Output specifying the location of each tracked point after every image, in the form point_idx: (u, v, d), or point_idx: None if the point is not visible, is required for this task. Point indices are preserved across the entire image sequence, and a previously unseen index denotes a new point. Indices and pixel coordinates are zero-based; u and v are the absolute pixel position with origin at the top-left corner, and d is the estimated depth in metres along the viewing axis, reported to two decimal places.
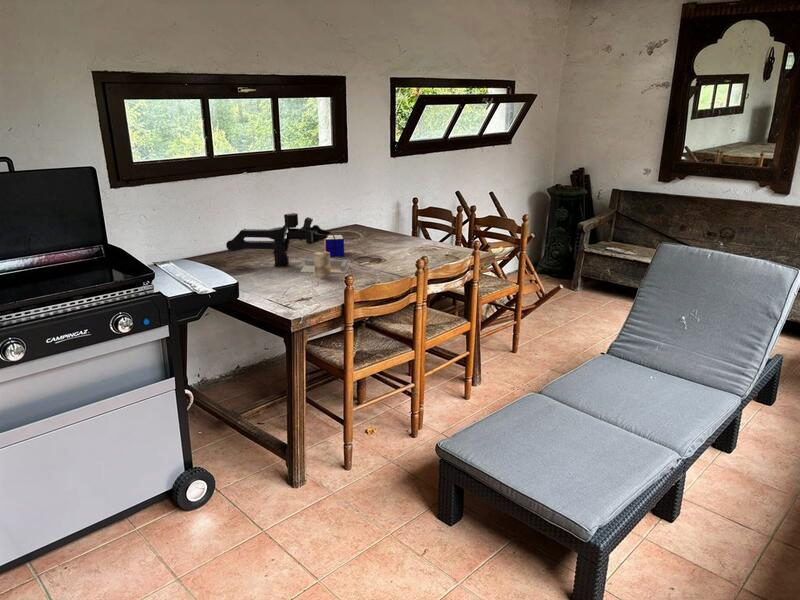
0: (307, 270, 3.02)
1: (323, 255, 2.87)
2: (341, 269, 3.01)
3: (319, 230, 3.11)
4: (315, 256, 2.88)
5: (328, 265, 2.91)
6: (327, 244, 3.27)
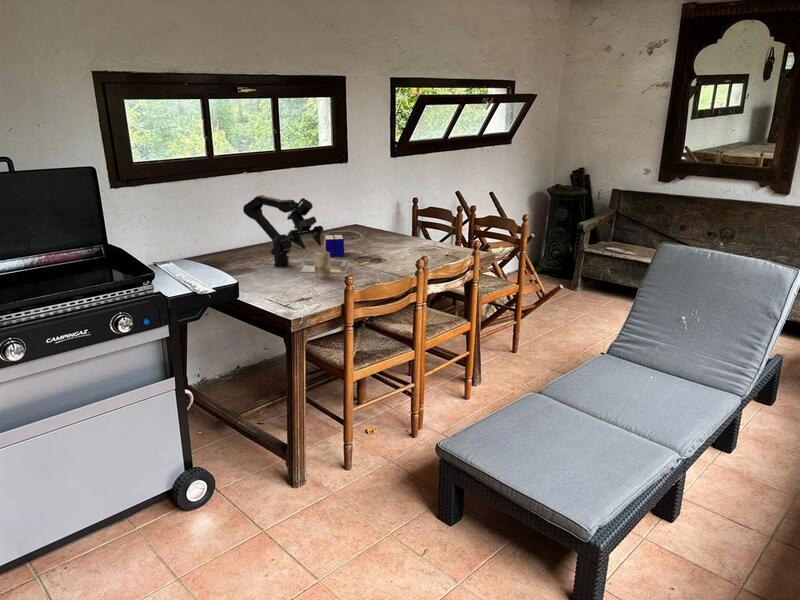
0: (307, 270, 3.02)
1: (323, 255, 2.87)
2: (341, 269, 3.01)
3: (316, 235, 2.98)
4: (315, 256, 2.88)
5: (328, 265, 2.91)
6: (327, 244, 3.27)
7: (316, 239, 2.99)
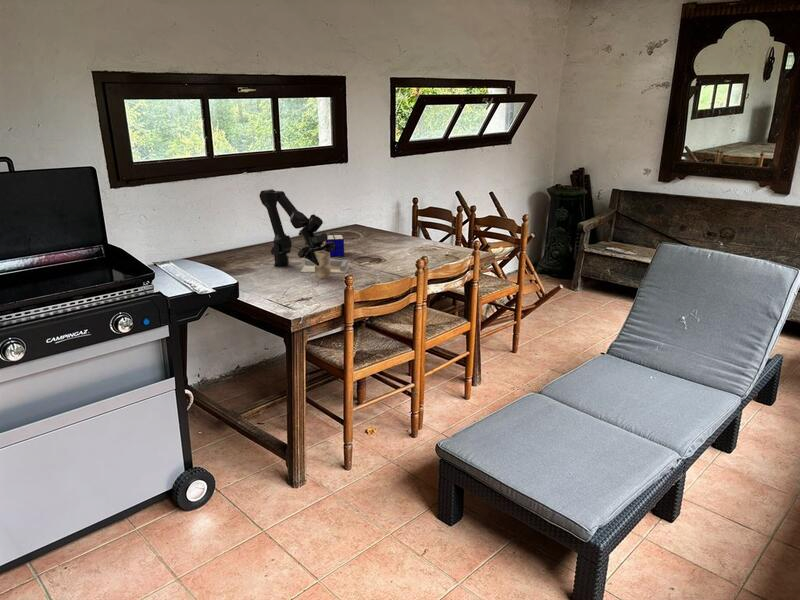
0: (307, 270, 3.02)
1: (323, 255, 2.87)
2: (341, 269, 3.01)
3: None
4: (315, 256, 2.88)
5: (328, 265, 2.91)
6: None
7: None
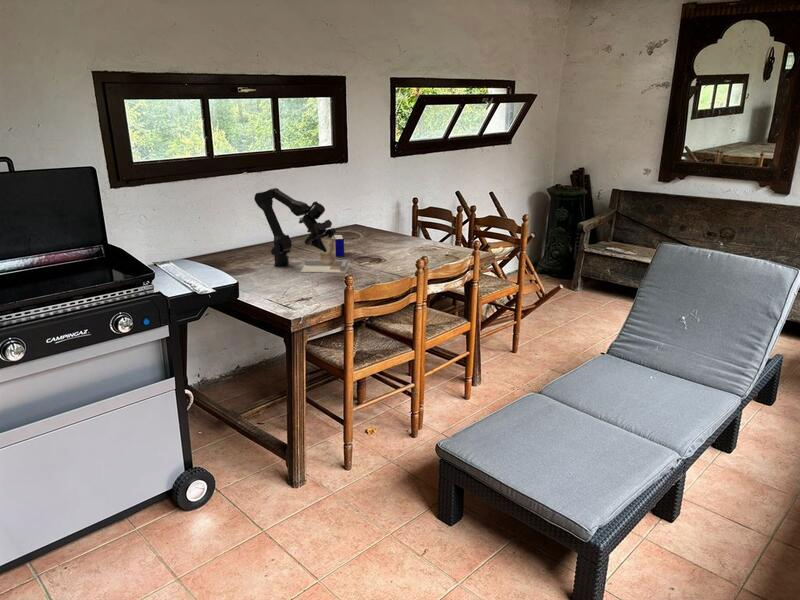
0: (307, 270, 3.02)
1: (330, 241, 2.90)
2: (341, 269, 3.01)
3: None
4: (322, 243, 2.90)
5: (334, 251, 2.94)
6: None
7: None
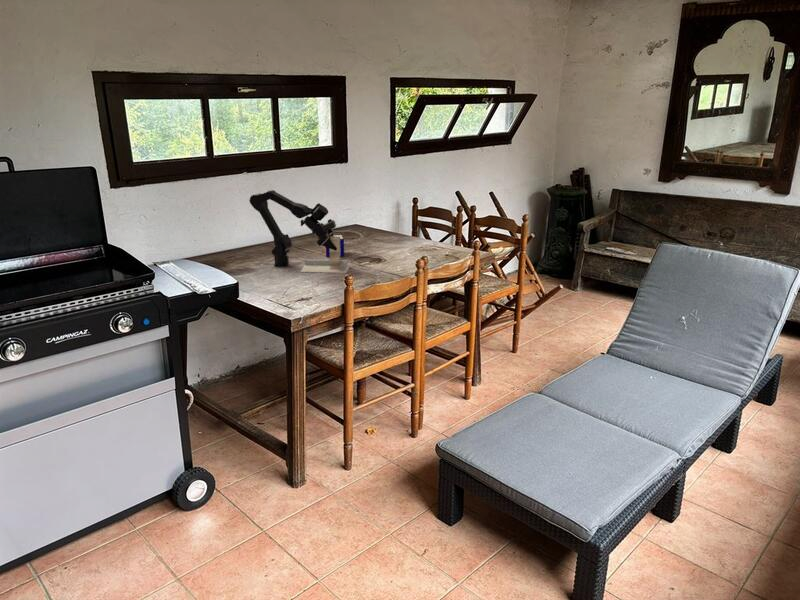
0: (307, 270, 3.02)
1: (338, 239, 3.01)
2: (341, 269, 3.01)
3: None
4: None
5: (339, 249, 3.05)
6: None
7: None
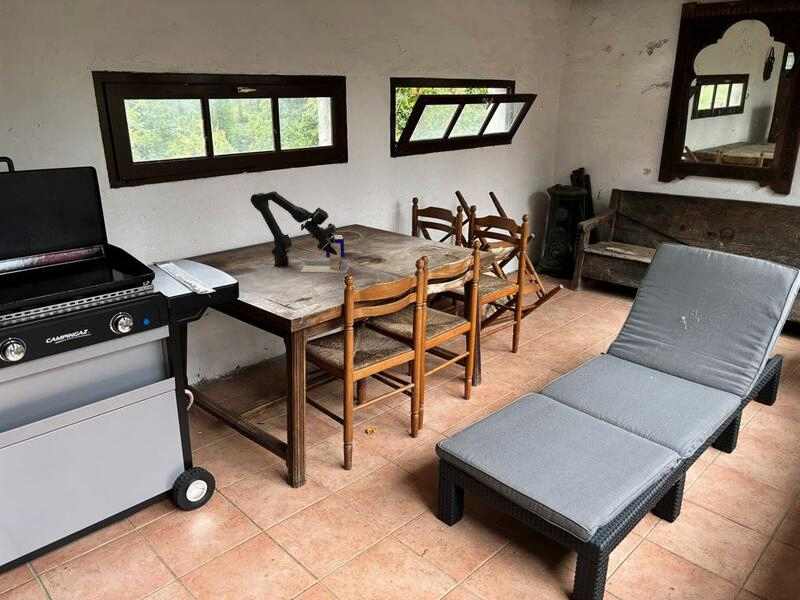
0: (307, 270, 3.02)
1: (339, 246, 3.02)
2: (341, 269, 3.01)
3: (332, 241, 3.07)
4: None
5: (340, 255, 3.07)
6: None
7: None
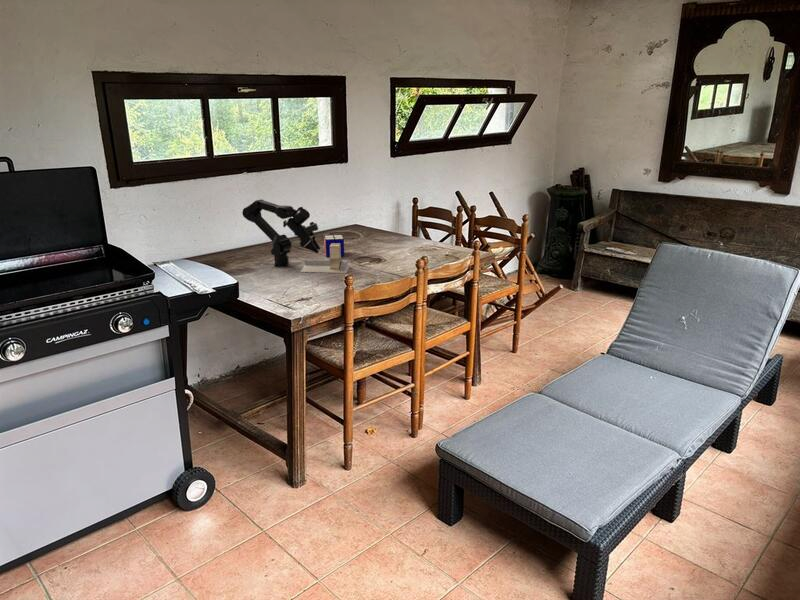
0: (307, 270, 3.02)
1: (339, 246, 3.02)
2: (341, 269, 3.01)
3: (313, 239, 3.08)
4: (332, 249, 3.01)
5: (340, 255, 3.07)
6: (327, 244, 3.27)
7: (312, 244, 3.09)
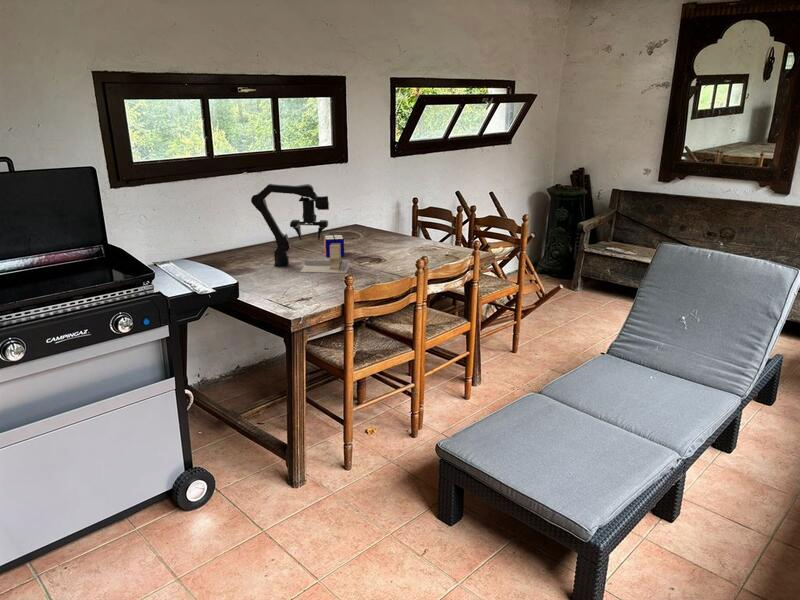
0: (307, 270, 3.02)
1: (339, 246, 3.02)
2: (341, 269, 3.01)
3: (300, 228, 3.09)
4: (332, 249, 3.01)
5: (340, 255, 3.07)
6: (327, 244, 3.27)
7: (299, 232, 3.08)
